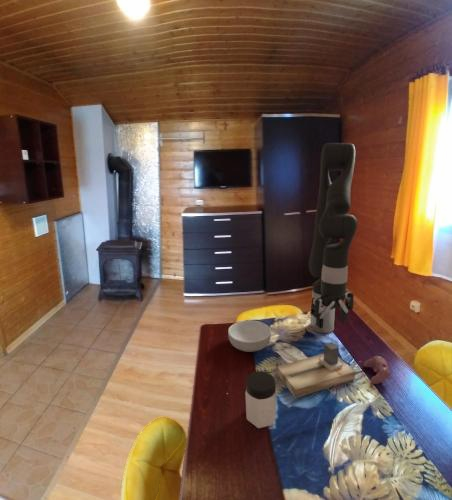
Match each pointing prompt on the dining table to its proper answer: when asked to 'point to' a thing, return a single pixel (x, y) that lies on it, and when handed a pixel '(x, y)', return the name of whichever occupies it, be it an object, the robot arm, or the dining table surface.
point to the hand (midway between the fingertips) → (331, 324)
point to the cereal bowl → (249, 335)
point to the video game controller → (378, 369)
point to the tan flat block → (312, 375)
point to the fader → (331, 357)
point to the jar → (260, 399)
